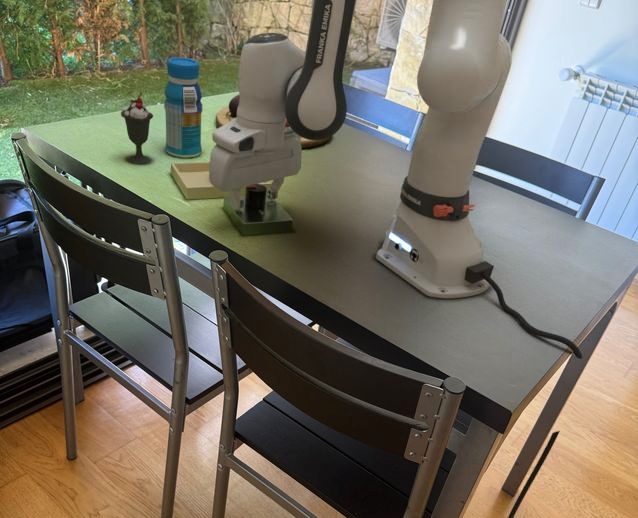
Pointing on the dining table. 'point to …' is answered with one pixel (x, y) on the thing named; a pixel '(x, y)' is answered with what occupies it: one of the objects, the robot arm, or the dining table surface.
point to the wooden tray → (199, 181)
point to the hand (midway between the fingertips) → (255, 202)
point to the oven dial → (255, 196)
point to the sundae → (137, 128)
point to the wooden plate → (231, 113)
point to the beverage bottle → (183, 108)
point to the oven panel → (259, 217)
